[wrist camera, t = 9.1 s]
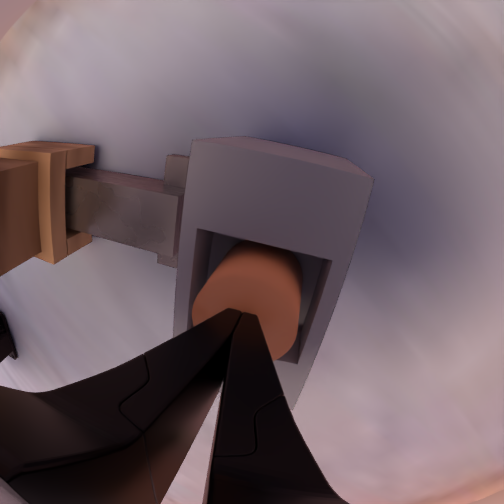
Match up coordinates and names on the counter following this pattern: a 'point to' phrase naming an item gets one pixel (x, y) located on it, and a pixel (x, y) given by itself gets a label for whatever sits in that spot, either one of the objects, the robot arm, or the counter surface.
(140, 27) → the counter surface
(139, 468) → the robot arm
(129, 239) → the rail
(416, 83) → the counter surface
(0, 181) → the carriage
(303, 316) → the grey peg holder
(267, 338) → the brown rounded piece
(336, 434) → the counter surface
